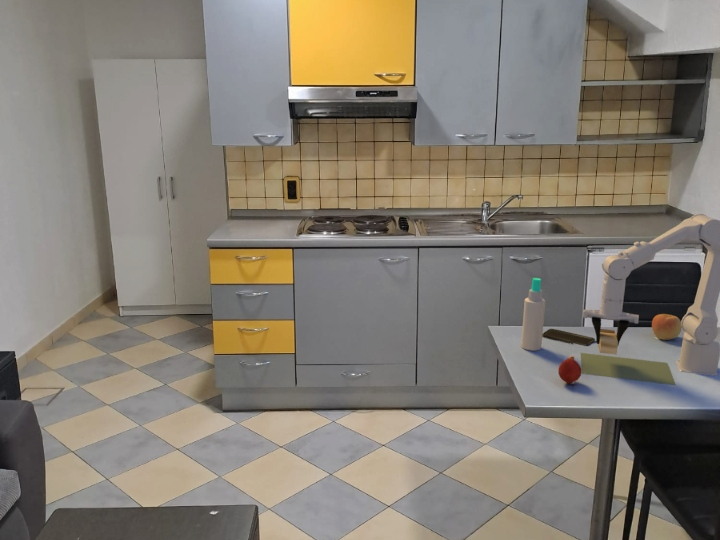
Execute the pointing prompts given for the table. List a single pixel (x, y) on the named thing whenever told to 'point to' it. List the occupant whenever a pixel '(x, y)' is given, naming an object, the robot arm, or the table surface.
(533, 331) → the spray bottle
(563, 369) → the onion
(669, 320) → the apple
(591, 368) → the rubber mat
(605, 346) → the wooden cubby box
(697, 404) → the table surface
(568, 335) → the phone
